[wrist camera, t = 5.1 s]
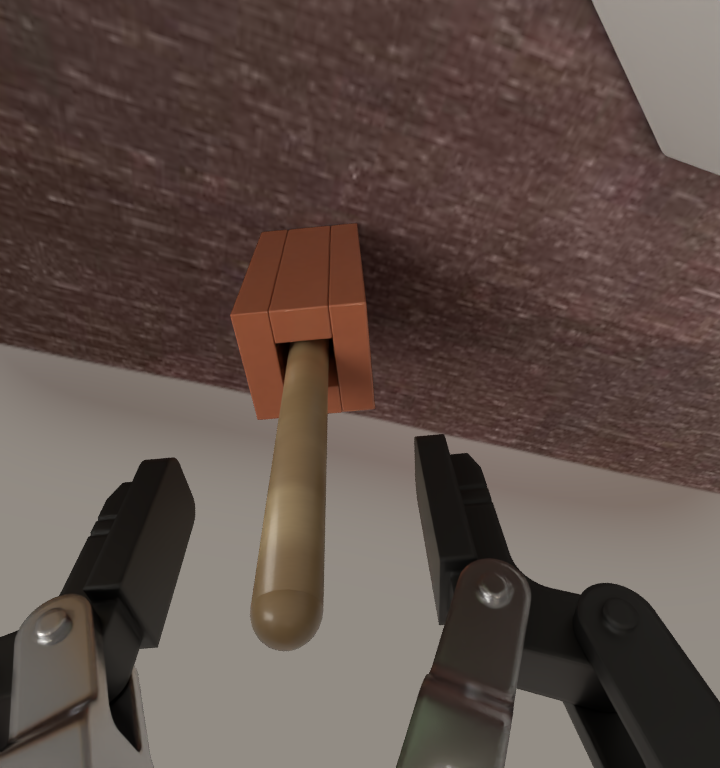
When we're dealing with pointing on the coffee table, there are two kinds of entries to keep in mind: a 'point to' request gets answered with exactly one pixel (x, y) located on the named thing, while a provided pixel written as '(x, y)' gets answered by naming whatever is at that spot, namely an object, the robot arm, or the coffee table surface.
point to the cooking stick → (295, 507)
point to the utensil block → (305, 314)
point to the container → (672, 71)
